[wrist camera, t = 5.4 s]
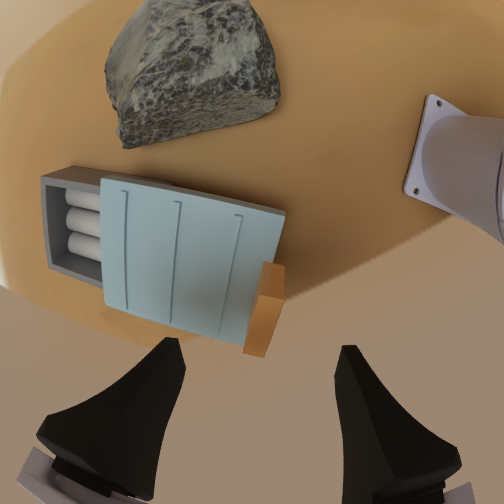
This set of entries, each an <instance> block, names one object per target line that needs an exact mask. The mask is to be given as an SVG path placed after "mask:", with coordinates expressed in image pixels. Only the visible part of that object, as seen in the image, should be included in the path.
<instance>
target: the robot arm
mask: <svg viewBox="0 0 504 504" xmlns="http://www.w3.org/2000/svg"><path fill="white" fill-rule="evenodd" d="M437 101H438V102H439V107H438V106H437V103H436V102H437ZM415 188H417V192H416V193H415V194H414V193H413V191H414V189H415ZM403 190H404V192H405V194H407V195H408V196H411V197H413V198H416V199H418V200H421V201H423V202H426V203H428V204H430V205H433V206H435V207H437V208H440V209H442V210H444V211H446V212H449V213H451V214H453V215H455V216H457V217H460V218H462V219H464V220H466V221H468V222H470V223H472V224H474V225H476V226H478V227H480V228H481V229H483V230H484V231H486V232H487V233H488V234H490V235H491V236H493V237H494V238H496V239H497V240H498V241H500V242H501V243H502V244H504V118H497V117H485V116H469V115H467V114H466V113H464V112H463V111H461V110H460V109H458V108H456V107H455V106H453V105H452V104H450V103H448V102H447V101H445V100H443V99H441V98H440V97H438V96H436V95H434V94H429V95H428V96H427V97H426V102H425V107H424V112H423V116H422V121H421V125H420V129H419V133H418V137H417V141H416V145H415V149H414V153H413V156H412V160H411V163H410V167H409V170H408V173H407V177H406V180H405V183H404V187H403ZM185 371H186V366H185V363H184V359H183V356H182V352H181V348H180V344H179V341H178V338H170V337H165V338H164V339H163V340H162V341H161V342H160V343H159V344H158V345H157V346H156V347H155V348H154V349H153V350H152V351H151V352H150V353H149V354H148V355H146V356H145V357H144V359H142V360H141V361H140V362H139V363H138V364H137V365H136V366H135V367H134V368H132V369H131V370H130V371H129V372H128V373H126V374H125V375H124V376H123V377H122V378H120V379H119V380H118V381H117V382H115V383H114V384H112V385H111V386H110V387H108V388H107V389H105V390H104V391H102V392H100V393H99V394H97V395H95V396H93V397H92V398H90V399H88V400H86V401H84V402H82V403H80V404H78V405H76V406H73V407H71V408H69V409H66V410H63V411H60V412H57V413H54V414H51V415H48V416H47V417H46V418H45V420H44V421H43V423H42V425H41V426H40V428H39V430H38V432H37V433H36V436H37V438H38V440H39V441H40V442H42V444H44V445H45V446H46V447H47V448H48V449H49V450H50V451H51V452H53V453H54V454H55V455H56V458H55V460H54V459H52V458H51V457H50V456H48V455H47V454H45V453H43V452H42V451H40V450H39V449H37V448H35V447H33V448H32V450H31V452H30V454H29V456H28V457H27V459H26V461H25V463H24V465H23V467H22V469H21V471H20V473H19V475H18V477H17V479H16V482H17V483H18V484H19V485H21V486H22V487H23V488H24V489H26V490H27V491H28V492H30V493H31V494H32V495H33V496H35V497H36V498H37V499H38V500H40V501H41V502H42V503H44V504H147V503H144V502H141V501H138V500H135V499H133V498H138V499H141V500H144V501H150V500H152V499H153V496H154V486H155V477H156V471H157V465H158V460H159V455H160V450H161V445H162V441H163V437H164V433H165V430H166V427H167V423H168V421H169V418H170V416H171V413H172V411H173V408H174V405H175V403H176V400H177V398H178V395H179V393H180V390H181V387H182V383H183V379H184V375H185ZM334 378H335V394H336V400H337V407H338V412H339V418H340V424H341V430H342V437H343V455H344V475H343V476H344V477H343V496H342V504H475V499H474V494H473V490H472V485H471V482H468V483H466V484H464V485H462V486H460V487H457V488H455V489H453V490H450V491H448V492H446V493H444V494H443V488H445V486H446V485H445V480H446V479H447V478H449V477H450V476H452V475H453V474H454V473H456V472H457V471H458V470H459V469H460V468H461V466H462V463H461V459H460V455H459V452H458V450H457V447H455V446H453V445H452V444H450V443H448V442H446V441H445V440H443V439H441V438H439V437H438V436H436V435H435V434H434V433H432V432H431V431H429V430H428V429H427V428H425V427H424V426H423V425H422V424H420V423H419V422H418V421H417V420H416V419H414V418H413V417H412V416H411V415H410V414H409V413H408V412H407V411H406V410H405V409H404V408H403V407H402V406H401V405H400V404H399V403H398V402H397V401H396V400H395V398H394V397H393V396H392V395H391V394H390V392H389V391H388V390H387V389H386V388H385V386H384V385H383V384H382V383H381V381H380V380H379V378H378V377H377V376H376V374H375V373H374V371H373V370H372V369H371V367H370V366H369V364H368V363H367V361H366V360H365V359H364V357H363V355H362V353H361V352H360V350H359V349H358V347H357V346H356V345H343V346H342V349H341V353H340V356H339V360H338V364H337V368H336V372H335V375H334ZM128 496H130V497H133V498H130V497H128Z"/></svg>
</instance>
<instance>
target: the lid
mask: <svg viewBox="0 0 504 504" xmlns="http://www.w3.org/2000/svg"><path fill="white" fill-rule="evenodd" d="M285 217H286V216H285V211H283V210H279V209H275V208H271V207H267V206H262V205H258V204H254V203H250V202H245V201H241V200H237V199H232V198H228V197H223V196H219V195H214V194H209V193H205V192H200V191H195V190H190V189H185V188H180V187H175V186H170V185H165V184H160V183H154V182H149V181H143V180H138V179H132V178H126V177H120V176H114V175H108V176H105V177H102V178H101V185H100V249H101V267H102V280H103V290H104V299H105V305H107V306H110V307H112V308H115V309H118V310H121V311H124V312H127V313H130V314H132V315H135V316H138V317H141V318H145V319H148V320H151V321H154V322H157V323H160V324H164V325H167V326H170V327H174V328H177V329H180V330H184V331H187V332H191V333H195V334H198V335H202V336H206V337H210V338H214V339H218V340H222V341H226V342H230V343H234V344H238V345H243V346H244V347H243V353H244V354H249V355H254V356H258V357H263V358H264V357H265V354H266V351H267V349H268V346H269V343H270V341H271V338H272V335H273V332H274V329H275V327H276V324H277V321H278V319H279V316H280V313H281V310H282V307H283V304H284V302H285V266H284V265H279V264H275V263H273V260H274V256H275V253H276V249H277V246H278V242H279V239H280V235H281V231H282V228H283V224H284V220H285Z"/></svg>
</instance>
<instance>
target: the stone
mask: <svg viewBox="0 0 504 504" xmlns="http://www.w3.org/2000/svg"><path fill="white" fill-rule="evenodd" d="M104 72H105V74H106V87H107V88H106V89H107V92H108V94H109V97H110V99H111V101H112V102H113V105H112V107H113V108H114V109H115V110H116V111H117V112H118V117H119V120H118V122H119V125H118V129H117V130H116V134H117V135H118V136H119V138H120V139H121V141H122V148H124V149H128V150H129V149H133V148H136V147H139V146H146V145H149V144H152V143H154V142H157V141H167V140H169V139H171V138H175V137H178V136H186V135H189V134H192V133H196V132H200V131H205V130H212V129H217V128H222V127H228V126H232V125H235V124H240V123H244V122H247V121H251V120H254V119H257V118H260V117H264V116H265V115H266V114H267V113H268V112H270V111H271V110H273V109H274V108H275V107H276V106H277V103H278V101H279V98H280V95H281V93H280V83H279V79H278V77H277V74H276V71H275V55H274V50H273V48H272V45H271V43H270V40H269V37H268V35H267V32H266V30H265V27H264V24H263V22H262V21H261V19H260V17H259V16H258V14H257V13H256V12H255V10H254V8H253V7H252V5H251V3H250V1H249V0H145V1H144V2H143V3H142V4H141V5H140V7H139V8H138V9H137V10H136V11H135V12H134V14H133V16H132V17H131V18H130V19H129V20H128V22H127V23H126V24H125V26H124V27H123V29H122V30H121V32H120V34H119V35H118V37H117V38H116V40H115V42H114V43H113V45H112V47H111V49H110V53H109V56H108V59H107V61H106V64H105V71H104Z"/></svg>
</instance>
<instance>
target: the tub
mask: <svg viewBox="0 0 504 504" xmlns="http://www.w3.org/2000/svg"><path fill="white" fill-rule="evenodd" d="M108 175H114V176H120V177H126V178H132V179H138V180H143V181H149V182H154V183H160V184H165V185H170V186H173V185H174V182H169V181H163V180H158V179H152V178H147V177H141V176H135V175H129V174H123V173H117V172H111V171H104V170H97V169H90V168H83V167H76V166H71V167H67V168H64V169H61V170H58V171H55V172H52V173H49V174H46V175H43V176H41V202H42V218H43V229H44V238H45V246H46V254H47V260H48V267H49V268H50V269H53V270H55V271H58V272H60V273H63V274H65V275H68V276H70V277H73V278H75V279H78V280H81V281H83V282H86V283H89V284H91V285H94V286H97V287H100V288H103V280H102V267H101V249H100V185H101V178H102V177H105V176H108Z"/></svg>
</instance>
